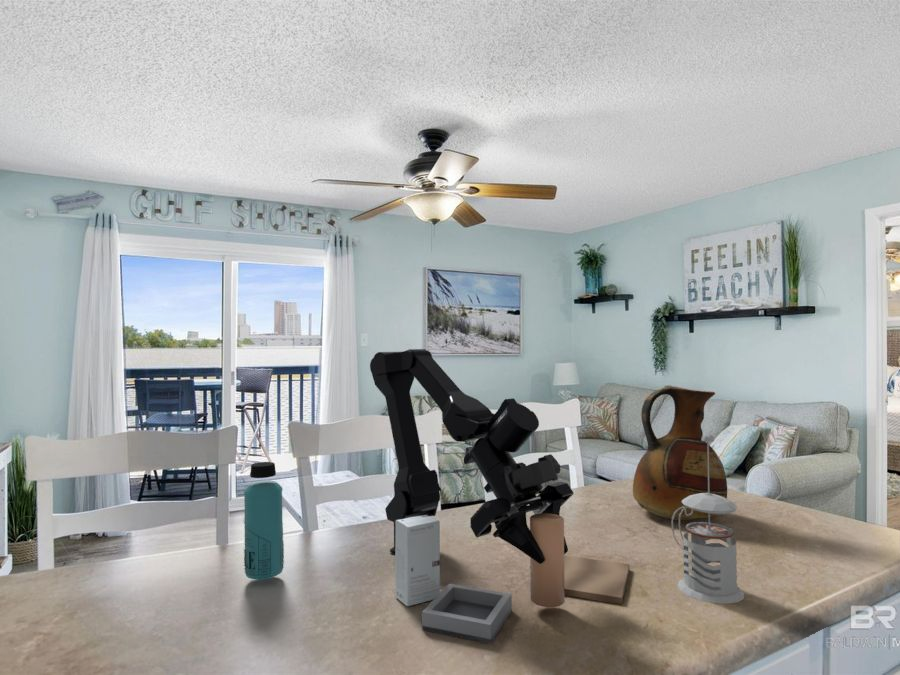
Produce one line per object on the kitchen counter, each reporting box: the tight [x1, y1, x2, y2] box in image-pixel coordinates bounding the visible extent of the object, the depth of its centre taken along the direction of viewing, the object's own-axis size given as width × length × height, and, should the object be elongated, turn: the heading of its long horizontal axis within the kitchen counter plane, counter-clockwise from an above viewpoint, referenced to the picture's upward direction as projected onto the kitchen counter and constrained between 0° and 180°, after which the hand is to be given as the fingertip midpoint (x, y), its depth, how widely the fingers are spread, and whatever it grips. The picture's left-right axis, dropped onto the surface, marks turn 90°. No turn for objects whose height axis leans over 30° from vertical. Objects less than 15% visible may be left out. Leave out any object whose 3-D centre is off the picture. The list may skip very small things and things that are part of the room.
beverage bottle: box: [242, 461, 285, 580], centre depth 95 cm, size 6×7×20 cm
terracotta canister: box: [529, 513, 566, 608], centre depth 83 cm, size 5×5×12 cm
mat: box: [564, 554, 630, 605], centre depth 94 cm, size 14×14×1 cm
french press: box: [671, 433, 745, 605], centre depth 90 cm, size 10×12×25 cm
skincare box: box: [394, 515, 441, 607], centre depth 88 cm, size 6×4×12 cm
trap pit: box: [421, 583, 513, 645], centre depth 80 cm, size 10×10×2 cm
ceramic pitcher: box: [632, 384, 728, 521], centre depth 129 cm, size 20×20×30 cm
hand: (554, 557), depth 82 cm, fingers closed on terracotta canister, 5 cm apart
